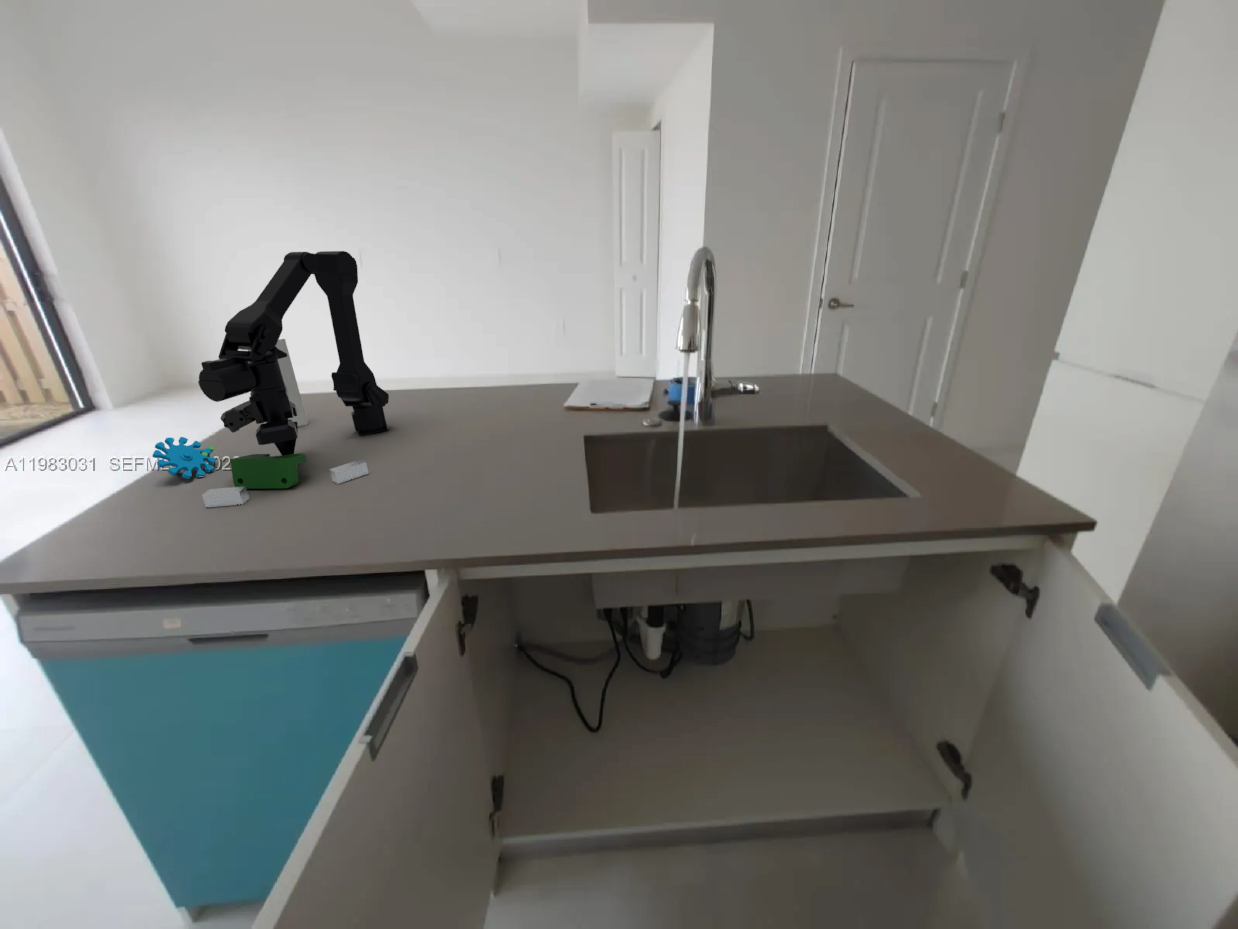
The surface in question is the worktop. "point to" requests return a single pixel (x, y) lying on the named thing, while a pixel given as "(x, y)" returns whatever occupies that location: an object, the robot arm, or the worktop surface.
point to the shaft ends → (241, 495)
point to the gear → (184, 457)
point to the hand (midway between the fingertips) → (289, 461)
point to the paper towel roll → (291, 384)
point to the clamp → (266, 470)
